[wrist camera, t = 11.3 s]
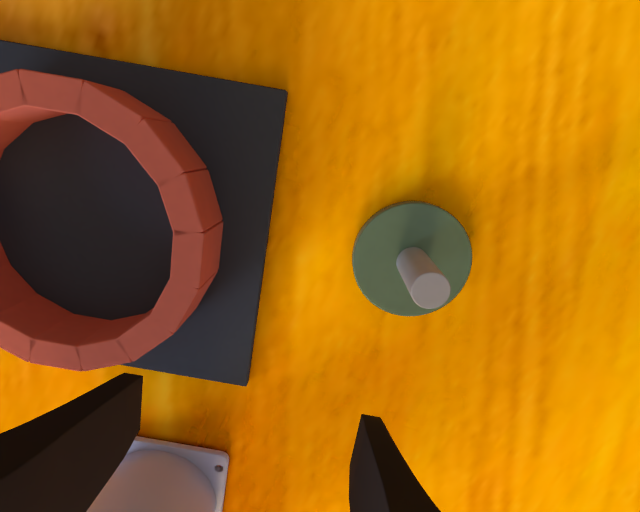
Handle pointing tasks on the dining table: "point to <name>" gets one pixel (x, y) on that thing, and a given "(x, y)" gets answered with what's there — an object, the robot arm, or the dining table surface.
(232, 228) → the mat
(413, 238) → the post stand
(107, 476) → the robot arm
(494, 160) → the dining table surface
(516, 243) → the dining table surface
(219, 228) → the ring
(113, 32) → the dining table surface
